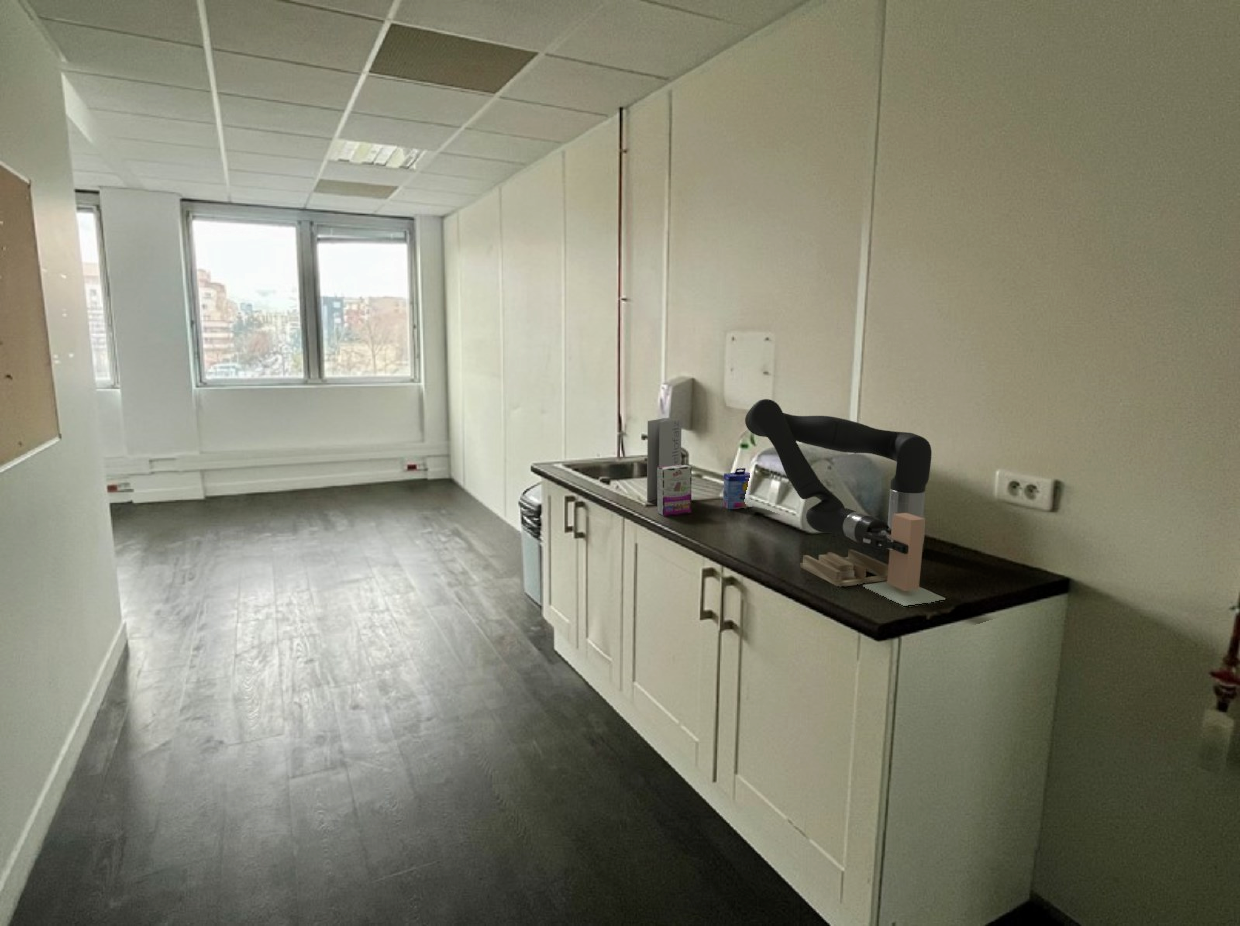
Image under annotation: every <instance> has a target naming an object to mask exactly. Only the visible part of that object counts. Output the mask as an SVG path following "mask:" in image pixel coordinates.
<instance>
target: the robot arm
mask: <svg viewBox="0 0 1240 926" xmlns="http://www.w3.org/2000/svg"><path fill="white" fill-rule="evenodd" d="M744 423H745V427H746V428H747V430H748V431H749V432H750V433H752V434H753V435H754V436H757V437H763V438H768V440H769V441H770V443H771V444H772V446H773V448H774V449H775V451H776V453H777V455H778V457H779V461H780V463H781V466H782V468H783V469H782V470H783V471H784V473H785V475H786V477H787V479H788V481H789V482H790V484H791V486H792V487H793V489H794V490H795V492H796V493H797V496H799V498H800V499H802V500H807V499H811V498H816V499H818V500H820V502H818V503H816V504H814V505H813V506H811V507H810V508H809V509H808V510H807V511H806V514H805V518H806V521H807V524H808V525H809V527H810V528H812V529H813V530H815V531H817V532H819V533H825V534H840V535H842V536H844V537H847V538H849V539H851V540H853V541H854V542H856V543H858V544H860V545H863V546H866V547H868V548H870V549H877V550H881V551H887V550H889V551H890V550H896V551H898V552H900V553H903V554H907V553H908V545H907V544H904V543H902V542H899V541H895V539H892V538H891V529H892V517H893V514H899V513H909V514H912V515H915V516H918V517H921V518H924V519H925V523H926V519H927V518H926V516H924V510H925V497H926V486H927V484H928V483H929V479H930V473H931V465H932V456H933V455H932V453H933V452H932V447H931V444H930V442H929V441H928V439H926V438H925V437H923V436H921V435H918V434H915V433H913V432H904V431H894V430H884V429H879V428H874V427H871V426H869V425H866V424H863V423H860V422H857V421H852V420H849V419H845V418H842V417H841V418H840V417H835V416H831V415H793V414H790V413H784V412H783V410H782V408H781V406H780V405H779V404H778V403H777V401H774V400H772V399H769V398H764V399H759V400H758V401H757V402H755V403H754V404H753V405H752V406H751V408H750V409H749V410H748V412H747V413H746V415H745V418H744ZM798 443H802V444H804V445H805V444H806V445H809V446H814V447H818V448H822V449H825V450H830V451H835V452H840V453H841V452H842V453H847V454H848V453H850V454H871V455H874V456H879V457H882V458H886V459H888V460H892V461H894V462H896V467H895V475H894V477H892V479H891V480H890V487H889V488H890V490H889V501H888V516H887V517H888V518H887V522H886V521H885V520H884V519H881V518H878V517H875V516H873V515H870V514H867V513H863V512H858V511H856V510H853V509H850V508H847V507H845V505H844V504H843V501H841V499H839V498H838V497H837V496H836V495H835V494H834V493H832V492H831V491H830V490H829V488H828V487H826V486H825V485H824V484H823V483H822V482H821V480H820V478H819V477H818V475H817V474H816V472H815V471H814V469H813V467H812V466H811V465H810V463H809V461H808V460H807V458H806V457H805V455H804V453H803V452H802V449H801V448H800V446H799V445H798ZM925 531H926V524H925V525H924V535H925V533H926V532H925ZM924 541H925V536H924V537H923V548H922V553H924V550H925V542H924Z"/></svg>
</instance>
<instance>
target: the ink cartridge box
mask: <svg viewBox="0 0 1240 926" xmlns="http://www.w3.org/2000/svg"><path fill="white" fill-rule="evenodd" d="M750 473H751V472H746V468H745V467H743V468H741V467H740V468H738V467H737V468H736V469H735V471H734V472H726V473H723V494H722V496H723V497H722V498H723V499H722V507H724V508H726V509H727V510H739V509H740V508H744V509H747V508H746V504H745V502H744V499H745V494H746V490H747V487H748V481H749V478H750Z"/></svg>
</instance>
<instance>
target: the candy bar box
mask: <svg viewBox="0 0 1240 926" xmlns="http://www.w3.org/2000/svg"><path fill="white" fill-rule="evenodd" d="M656 500H657V502H656V503H657V504H656V505H657V508H656V510H657V514H658V515H660V516H663V517H667V516H675V515H677V516H678V515H684V514H690V513H692V466H691V465H687V464H681V465H676V466H666V467H657V499H656Z"/></svg>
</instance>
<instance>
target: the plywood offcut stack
mask: <svg viewBox="0 0 1240 926" xmlns="http://www.w3.org/2000/svg"><path fill="white" fill-rule="evenodd" d="M818 560H819V561H821V562H823V563H825V564H827V565H829V566H831V567H833V568H835V569H837V570H839V571H841V579H840V581H845V580H852V579H856V577H855V576H854V571H853V566H854V565H853V564H852V563H850V562H848V561H846V560H844V559H842V558H840V557H838V556H836V555H834V554H819V555H818Z"/></svg>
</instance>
